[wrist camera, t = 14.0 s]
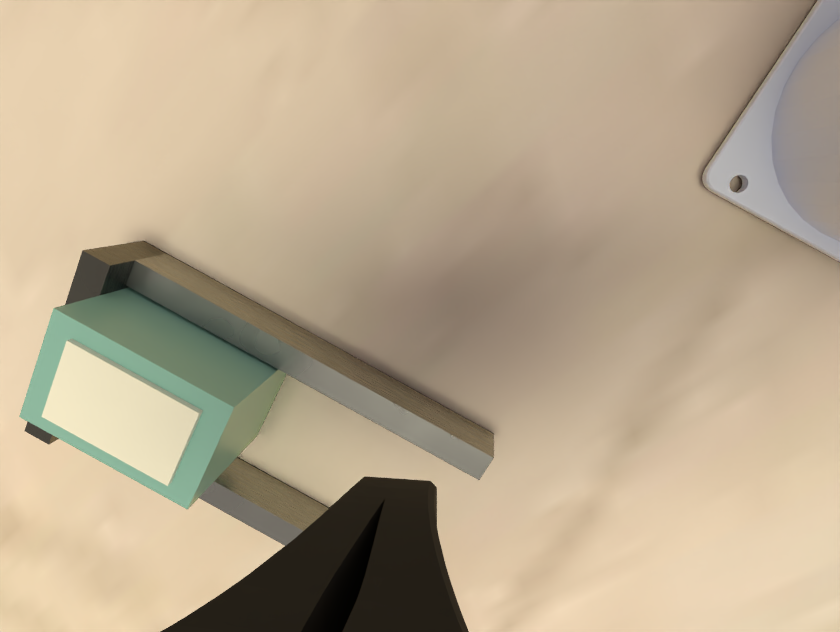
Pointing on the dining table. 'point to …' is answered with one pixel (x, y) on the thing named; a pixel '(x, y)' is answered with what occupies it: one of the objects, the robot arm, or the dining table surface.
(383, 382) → the rail
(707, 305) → the dining table surface
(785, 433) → the dining table surface
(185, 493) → the module
